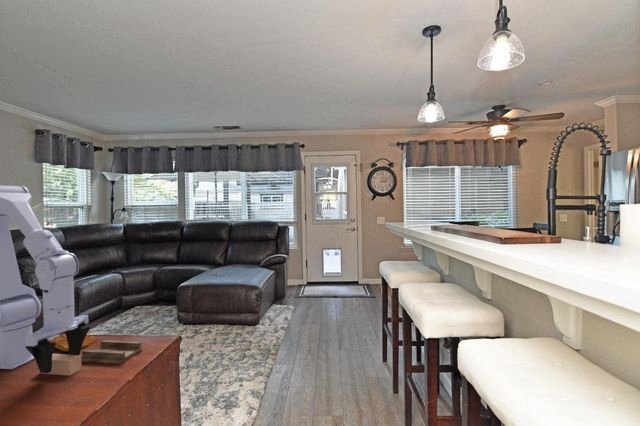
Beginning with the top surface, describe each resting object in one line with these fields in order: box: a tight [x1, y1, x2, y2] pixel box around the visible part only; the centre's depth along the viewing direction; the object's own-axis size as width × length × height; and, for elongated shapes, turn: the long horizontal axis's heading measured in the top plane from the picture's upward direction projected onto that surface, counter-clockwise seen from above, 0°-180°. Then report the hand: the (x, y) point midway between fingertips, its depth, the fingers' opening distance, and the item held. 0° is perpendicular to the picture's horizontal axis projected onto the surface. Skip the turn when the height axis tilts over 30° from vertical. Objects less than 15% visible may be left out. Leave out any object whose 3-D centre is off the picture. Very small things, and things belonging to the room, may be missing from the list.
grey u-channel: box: [81, 339, 143, 364], centre depth 88 cm, size 11×8×2 cm
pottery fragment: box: [48, 332, 98, 352], centre depth 94 cm, size 10×5×10 cm
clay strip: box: [41, 353, 82, 376], centre depth 79 cm, size 8×3×4 cm, turn 81°
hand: (60, 364), depth 79 cm, fingers open, 7 cm apart
